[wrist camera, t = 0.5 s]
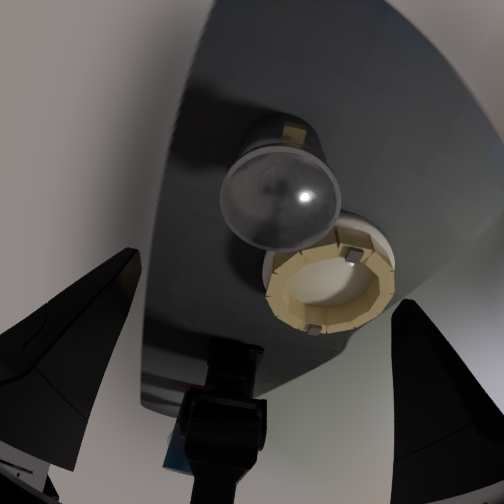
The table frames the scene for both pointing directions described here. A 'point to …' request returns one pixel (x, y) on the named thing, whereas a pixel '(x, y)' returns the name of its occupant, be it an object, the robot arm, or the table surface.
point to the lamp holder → (332, 278)
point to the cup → (178, 449)
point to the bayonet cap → (280, 187)
